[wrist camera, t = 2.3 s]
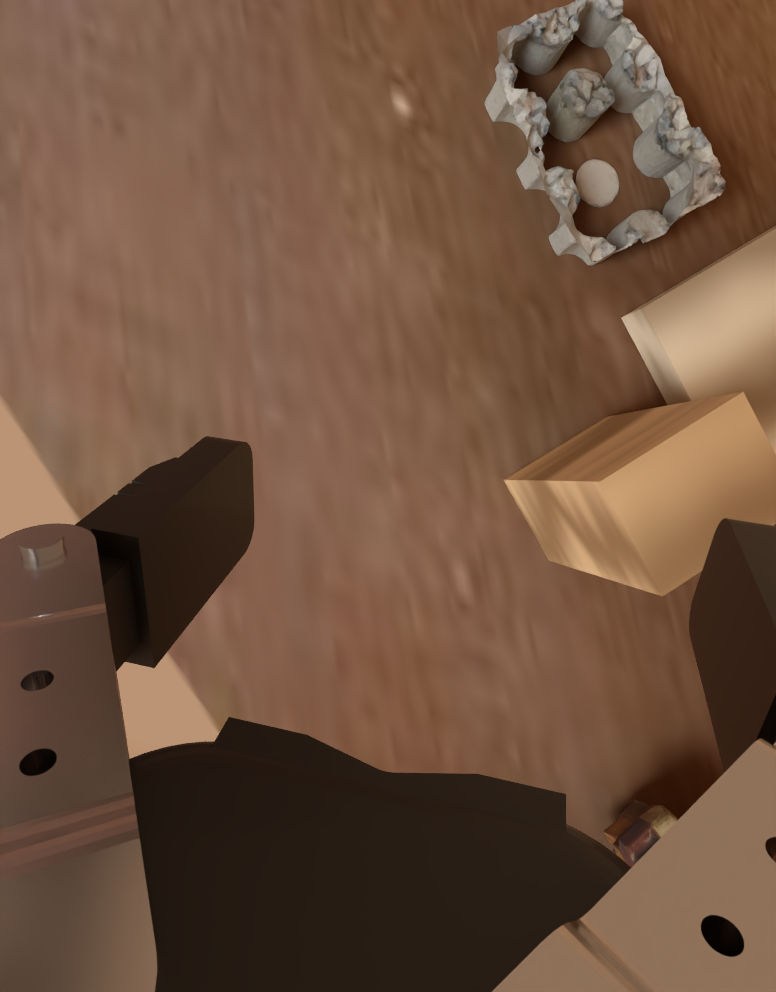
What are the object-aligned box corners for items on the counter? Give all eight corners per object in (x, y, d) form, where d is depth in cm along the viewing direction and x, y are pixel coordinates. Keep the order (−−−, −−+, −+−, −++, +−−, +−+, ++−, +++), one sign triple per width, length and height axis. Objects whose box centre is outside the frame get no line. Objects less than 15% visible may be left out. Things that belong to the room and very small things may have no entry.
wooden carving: (547, 821, 34) (658, 965, 24) (616, 758, 34) (753, 873, 24) (738, 1051, 35) (914, 1273, 26) (801, 988, 36) (998, 1182, 26)
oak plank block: (503, 479, 33) (599, 481, 23) (606, 416, 33) (743, 391, 24) (549, 560, 33) (662, 596, 23) (649, 496, 34) (801, 504, 24)
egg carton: (684, 229, 34) (739, 196, 30) (552, 287, 33) (590, 262, 29) (602, 18, 33) (647, -45, 29) (463, 72, 32) (490, 15, 28)
